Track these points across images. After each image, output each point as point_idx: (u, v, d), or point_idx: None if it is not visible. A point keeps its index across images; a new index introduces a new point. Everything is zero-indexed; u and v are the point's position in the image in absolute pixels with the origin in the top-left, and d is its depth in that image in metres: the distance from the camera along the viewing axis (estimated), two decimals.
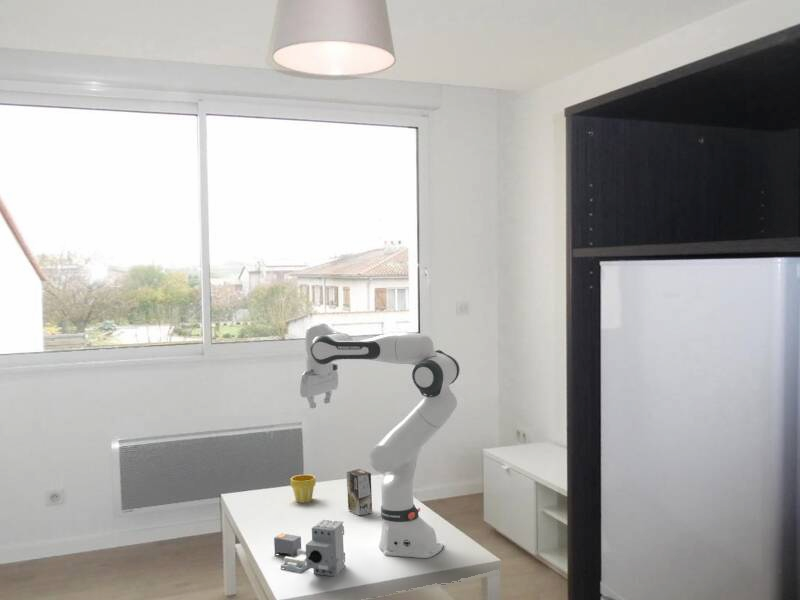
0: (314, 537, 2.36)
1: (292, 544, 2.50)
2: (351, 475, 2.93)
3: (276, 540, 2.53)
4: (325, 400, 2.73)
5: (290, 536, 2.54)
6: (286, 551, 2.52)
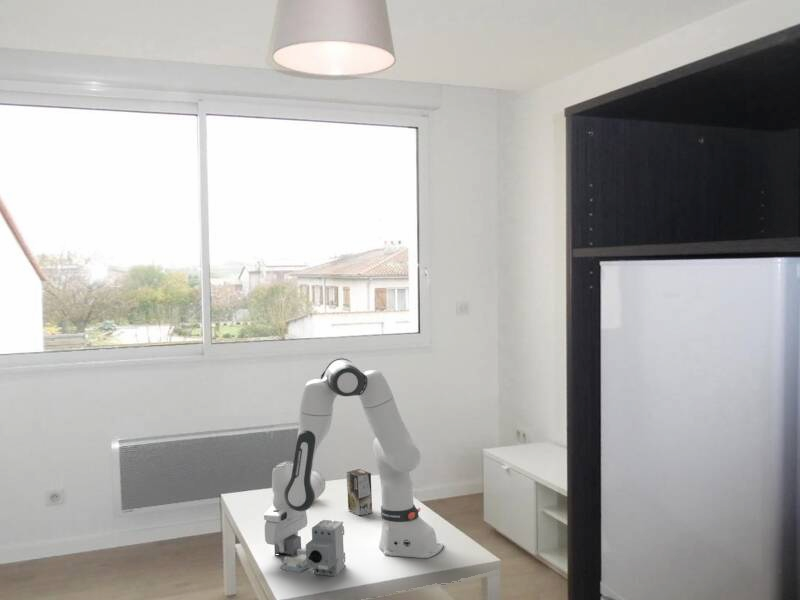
0: (314, 537, 2.36)
1: (292, 544, 2.50)
2: (351, 475, 2.93)
3: None
4: None
5: (290, 536, 2.54)
6: (286, 551, 2.52)
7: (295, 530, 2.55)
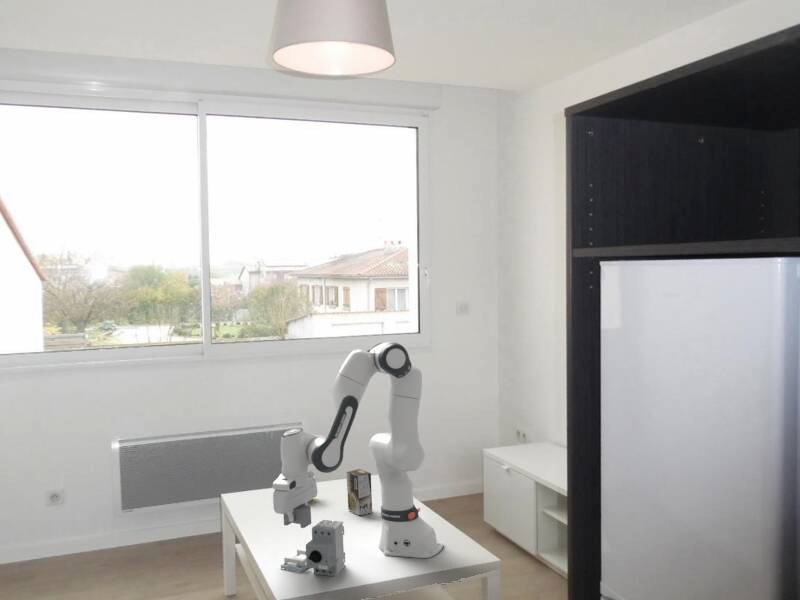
0: (314, 537, 2.36)
1: (302, 513, 2.43)
2: (351, 475, 2.93)
3: None
4: None
5: (299, 506, 2.47)
6: (295, 521, 2.45)
7: (305, 500, 2.48)
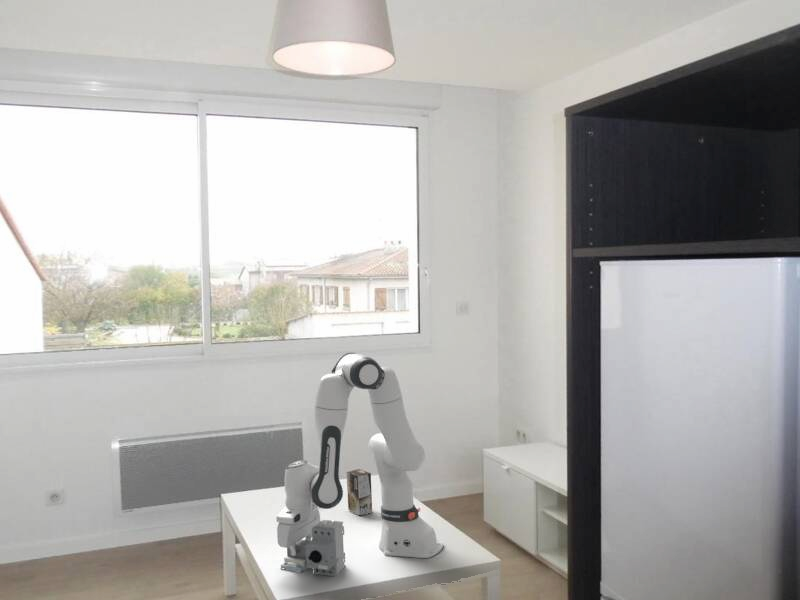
0: (314, 537, 2.36)
1: None
2: (351, 475, 2.93)
3: None
4: None
5: (303, 541, 2.46)
6: (299, 557, 2.43)
7: (308, 532, 2.46)
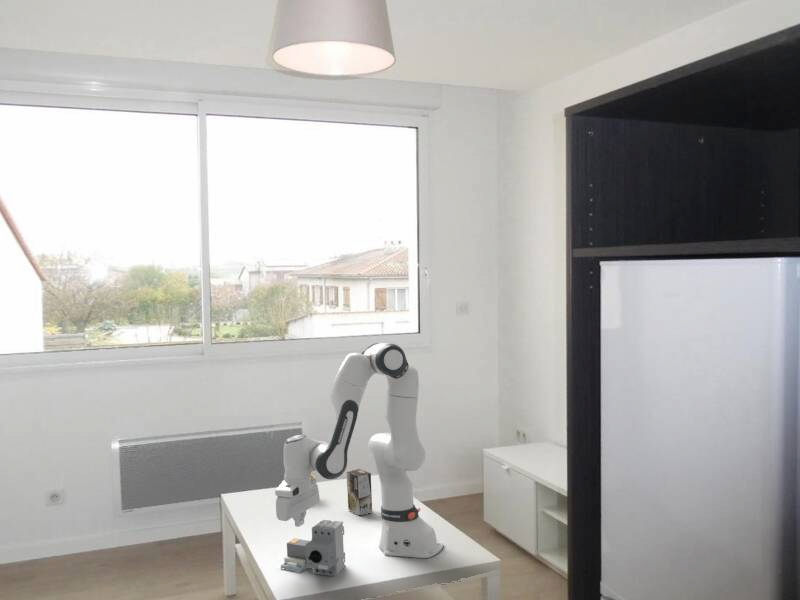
0: (314, 537, 2.36)
1: None
2: (351, 475, 2.93)
3: (289, 545, 2.45)
4: None
5: (303, 541, 2.46)
6: (299, 557, 2.43)
7: (307, 507, 2.46)
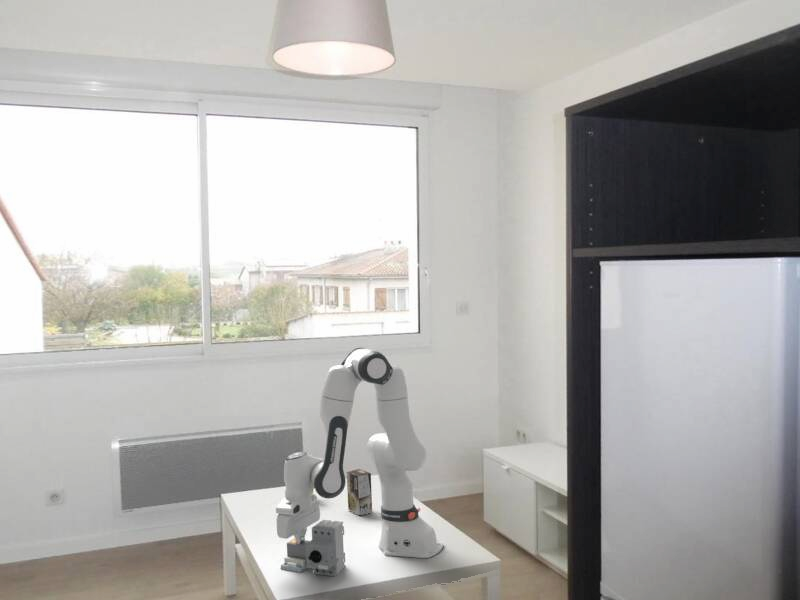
0: (314, 537, 2.36)
1: None
2: (351, 475, 2.93)
3: (289, 545, 2.45)
4: None
5: (303, 541, 2.46)
6: (299, 557, 2.43)
7: (308, 524, 2.46)
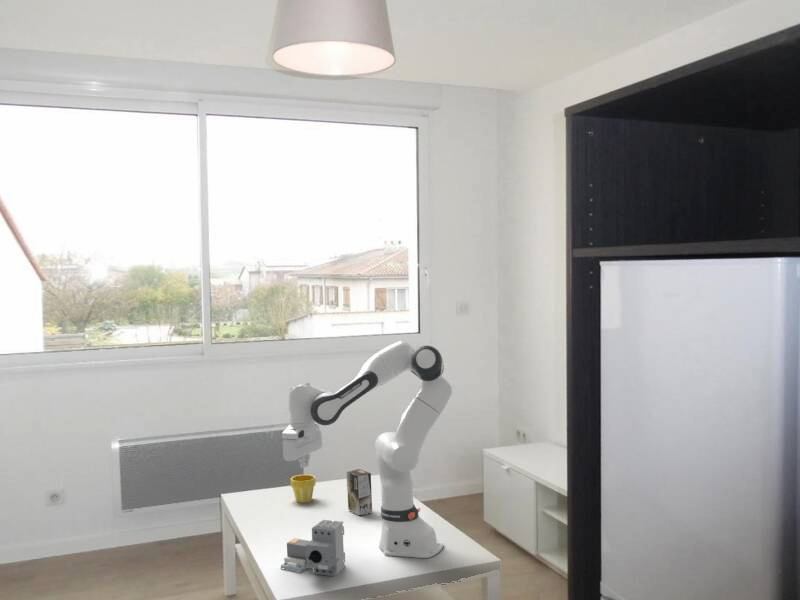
0: (314, 537, 2.36)
1: None
2: (351, 475, 2.93)
3: (289, 545, 2.45)
4: None
5: (303, 541, 2.46)
6: (299, 557, 2.43)
7: (311, 450, 2.65)
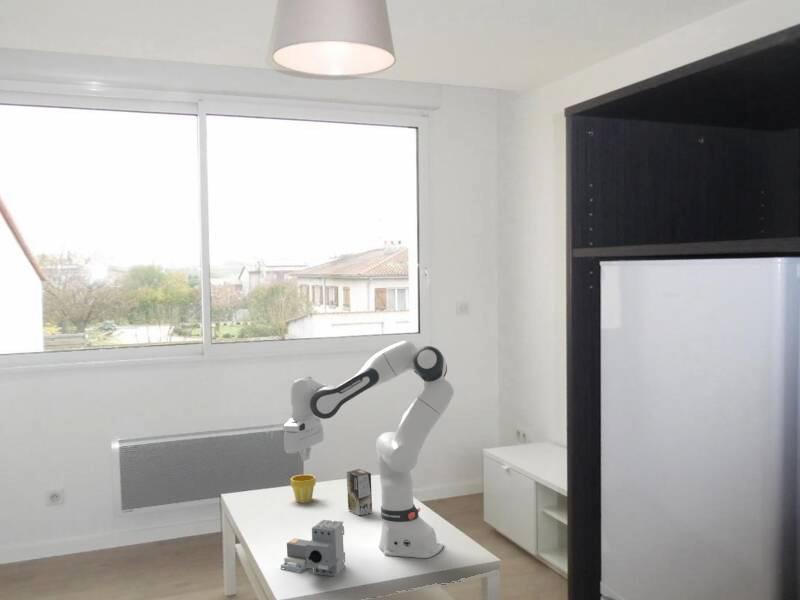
0: (314, 537, 2.36)
1: None
2: (351, 475, 2.93)
3: (289, 545, 2.45)
4: None
5: (303, 541, 2.46)
6: (299, 557, 2.43)
7: (312, 443, 2.68)
